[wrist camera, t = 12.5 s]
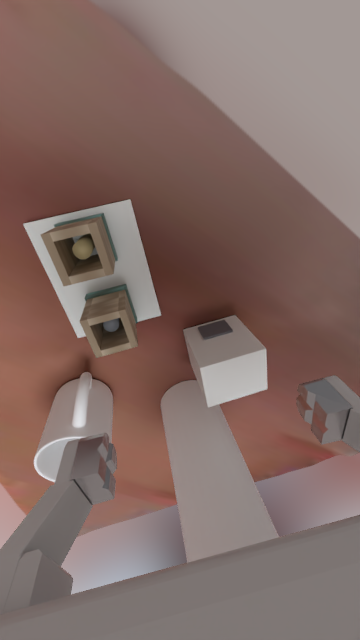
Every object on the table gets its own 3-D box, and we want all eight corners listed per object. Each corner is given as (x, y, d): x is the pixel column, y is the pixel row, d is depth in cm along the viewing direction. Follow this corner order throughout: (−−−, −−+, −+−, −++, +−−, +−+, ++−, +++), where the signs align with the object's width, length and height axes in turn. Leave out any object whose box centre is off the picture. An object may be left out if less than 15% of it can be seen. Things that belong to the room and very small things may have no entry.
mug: (58, 351, 33) (34, 410, 24) (120, 357, 35) (120, 412, 26) (54, 416, 38) (32, 485, 29) (109, 417, 40) (105, 481, 31)
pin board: (130, 199, 27) (131, 200, 21) (160, 311, 33) (167, 334, 28) (27, 222, 26) (1, 230, 20) (79, 333, 32) (70, 361, 27)
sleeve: (103, 212, 26) (97, 218, 20) (117, 257, 28) (116, 275, 22) (57, 223, 25) (36, 232, 19) (75, 268, 28) (62, 289, 21)
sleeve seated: (125, 283, 29) (126, 306, 23) (137, 317, 32) (140, 347, 26) (86, 293, 29) (76, 320, 23) (100, 327, 31) (95, 360, 25)
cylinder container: (150, 396, 40) (202, 780, 14) (203, 371, 40) (355, 712, 14) (174, 428, 45) (245, 762, 18) (220, 406, 44) (359, 711, 18)
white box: (234, 312, 36) (266, 346, 28) (238, 349, 39) (267, 389, 31) (182, 327, 35) (199, 365, 27) (190, 364, 39) (207, 407, 31)
